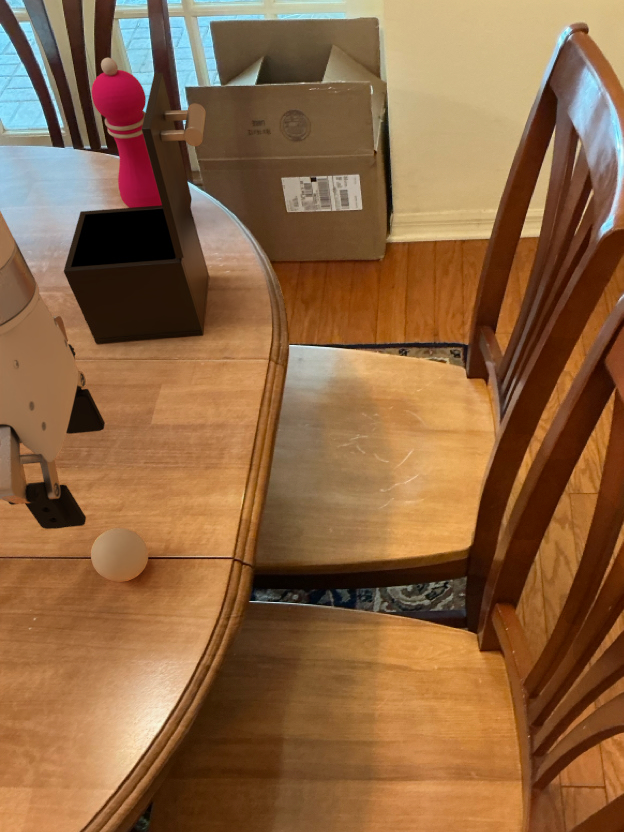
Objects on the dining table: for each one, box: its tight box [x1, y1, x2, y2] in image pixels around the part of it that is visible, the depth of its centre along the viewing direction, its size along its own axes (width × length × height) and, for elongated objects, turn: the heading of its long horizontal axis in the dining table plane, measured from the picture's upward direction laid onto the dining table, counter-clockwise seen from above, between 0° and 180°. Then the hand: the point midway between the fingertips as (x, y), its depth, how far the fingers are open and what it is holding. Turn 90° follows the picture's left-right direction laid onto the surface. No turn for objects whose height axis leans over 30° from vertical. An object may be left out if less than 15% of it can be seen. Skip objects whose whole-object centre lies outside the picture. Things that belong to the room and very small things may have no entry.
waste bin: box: [63, 205, 210, 345], centre depth 88 cm, size 12×11×10 cm
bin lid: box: [142, 72, 207, 258], centre depth 79 cm, size 13×11×5 cm
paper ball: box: [90, 527, 149, 583], centre depth 68 cm, size 5×5×5 cm
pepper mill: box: [91, 57, 162, 208], centre depth 95 cm, size 7×7×20 cm
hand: (76, 474), depth 60 cm, fingers open, 9 cm apart
